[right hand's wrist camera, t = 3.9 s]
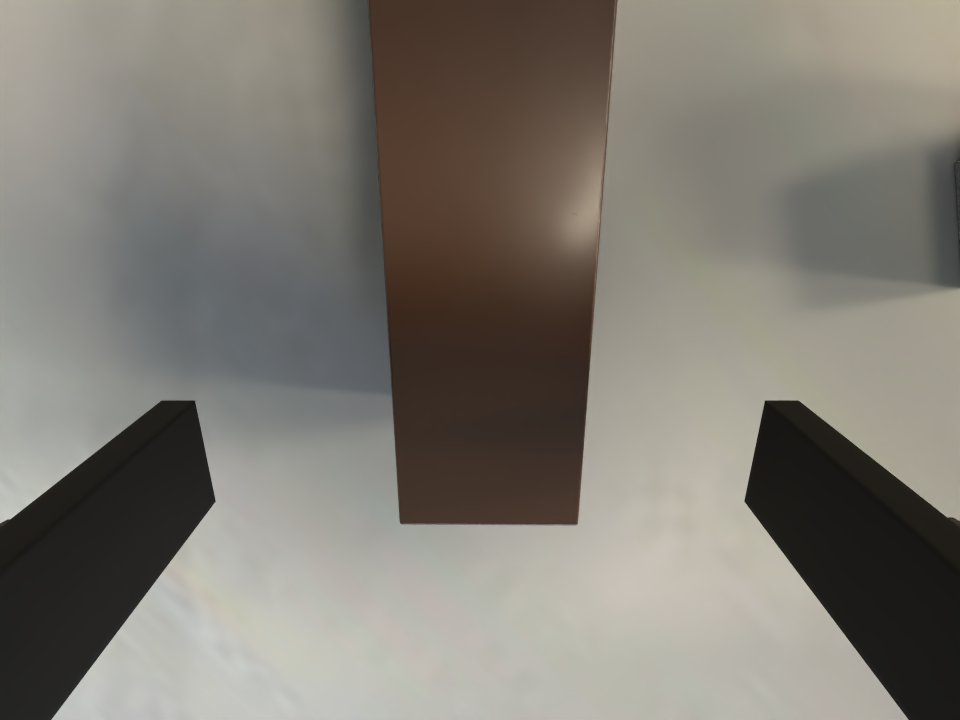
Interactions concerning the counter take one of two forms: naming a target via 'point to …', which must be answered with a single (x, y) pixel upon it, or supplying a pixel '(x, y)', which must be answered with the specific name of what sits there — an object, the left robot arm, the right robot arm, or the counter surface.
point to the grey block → (958, 189)
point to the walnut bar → (490, 247)
